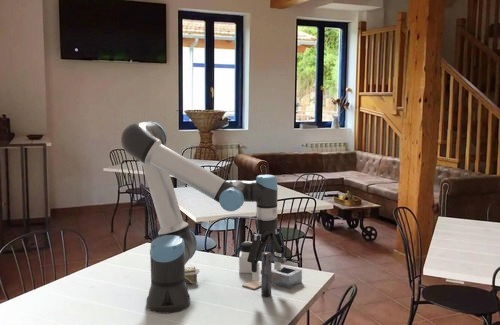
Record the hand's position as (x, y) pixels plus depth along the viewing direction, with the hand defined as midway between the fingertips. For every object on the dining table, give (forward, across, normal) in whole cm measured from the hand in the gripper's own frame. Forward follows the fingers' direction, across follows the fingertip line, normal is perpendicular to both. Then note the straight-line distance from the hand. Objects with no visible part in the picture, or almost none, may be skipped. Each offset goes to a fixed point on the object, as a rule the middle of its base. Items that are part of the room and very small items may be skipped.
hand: (267, 274), depth 185 cm
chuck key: (+8, 0, -3) cm, 8 cm away
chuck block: (+8, +15, +5) cm, 18 cm away
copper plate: (+8, +5, +10) cm, 13 cm away
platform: (+8, -10, +32) cm, 34 cm away
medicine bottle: (+8, +17, +22) cm, 29 cm away
